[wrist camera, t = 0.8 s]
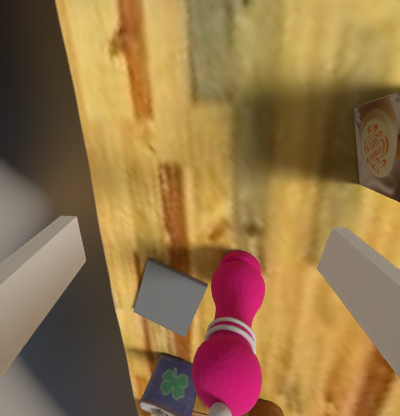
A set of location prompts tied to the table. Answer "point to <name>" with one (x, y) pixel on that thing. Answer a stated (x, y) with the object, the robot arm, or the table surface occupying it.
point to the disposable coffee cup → (265, 409)
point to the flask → (170, 388)
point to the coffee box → (379, 145)
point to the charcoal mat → (169, 297)
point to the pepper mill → (231, 339)
